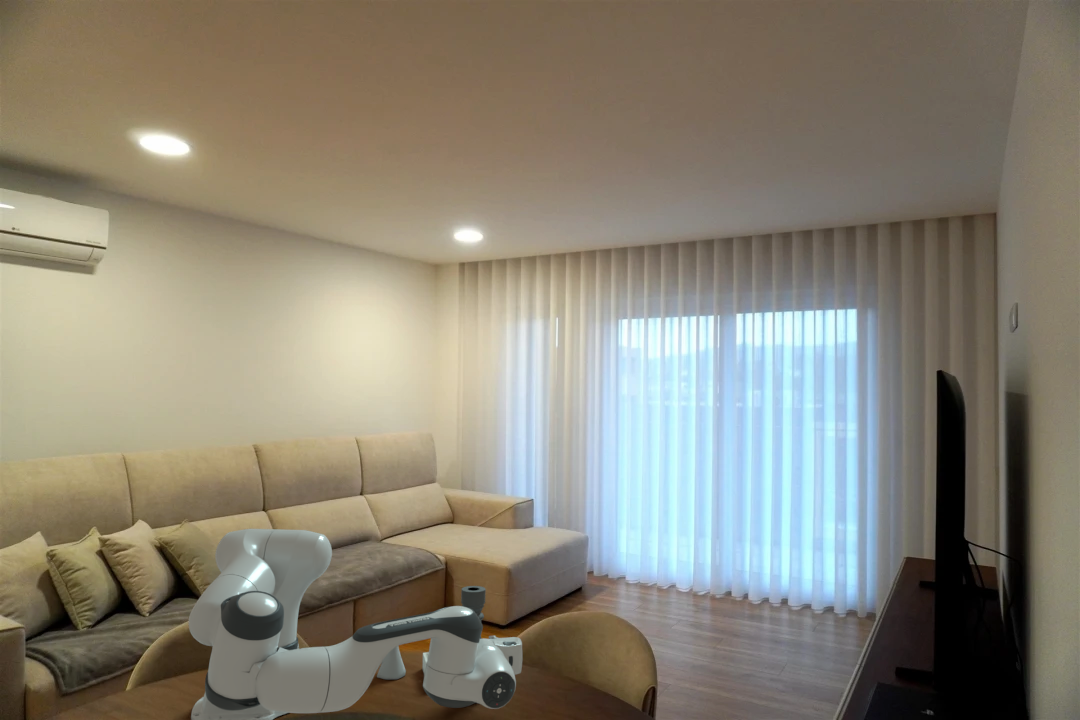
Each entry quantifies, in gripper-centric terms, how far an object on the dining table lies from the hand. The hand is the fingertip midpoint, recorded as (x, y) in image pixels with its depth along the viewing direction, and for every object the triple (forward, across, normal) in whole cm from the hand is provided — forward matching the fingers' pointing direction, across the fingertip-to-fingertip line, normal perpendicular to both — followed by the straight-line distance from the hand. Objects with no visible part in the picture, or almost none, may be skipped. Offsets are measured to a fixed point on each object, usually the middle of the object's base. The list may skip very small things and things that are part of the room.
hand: (472, 640), depth 164 cm
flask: (+18, -17, -13) cm, 28 cm away
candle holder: (0, 0, -13) cm, 13 cm away
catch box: (+13, -2, -13) cm, 18 cm away
